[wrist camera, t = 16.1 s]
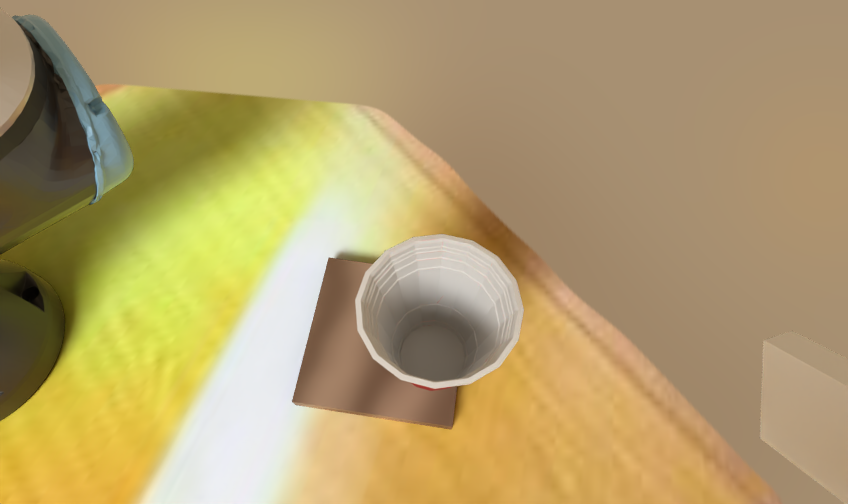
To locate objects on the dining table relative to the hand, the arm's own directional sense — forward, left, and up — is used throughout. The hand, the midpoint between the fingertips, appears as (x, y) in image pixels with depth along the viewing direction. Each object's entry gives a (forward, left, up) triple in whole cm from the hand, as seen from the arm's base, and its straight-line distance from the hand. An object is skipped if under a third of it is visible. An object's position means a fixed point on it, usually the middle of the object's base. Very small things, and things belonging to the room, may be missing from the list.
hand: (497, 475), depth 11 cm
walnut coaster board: (-6, +12, -33) cm, 35 cm away
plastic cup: (-2, +11, -31) cm, 33 cm away
